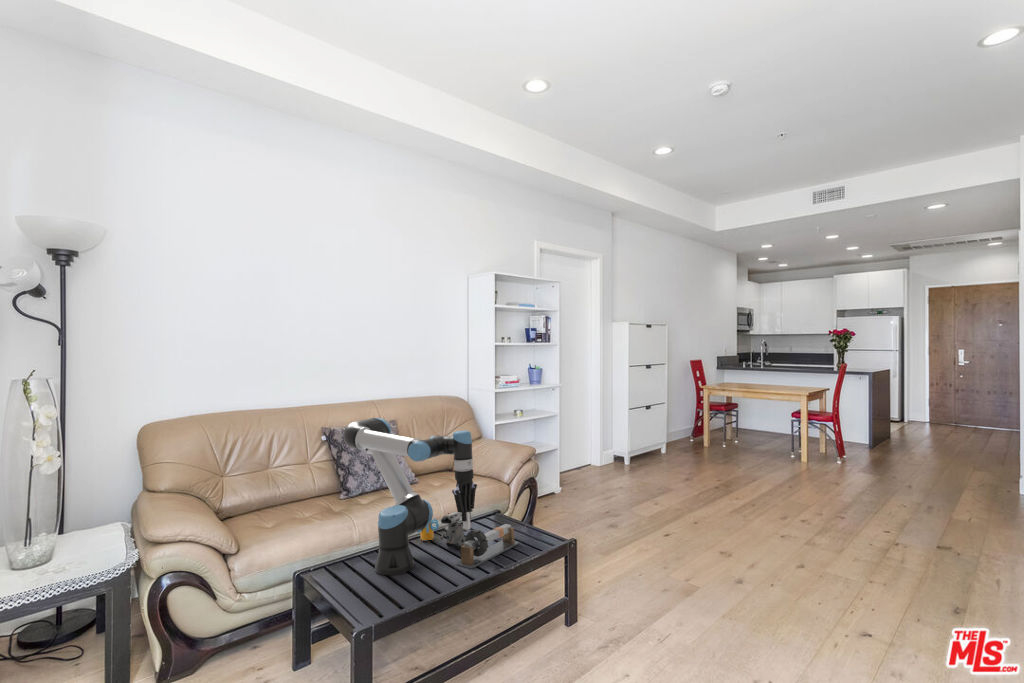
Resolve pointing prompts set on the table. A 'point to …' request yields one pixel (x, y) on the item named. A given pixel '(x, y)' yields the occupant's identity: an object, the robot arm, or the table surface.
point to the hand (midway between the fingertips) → (466, 528)
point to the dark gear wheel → (481, 539)
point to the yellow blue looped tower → (429, 531)
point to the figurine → (453, 529)
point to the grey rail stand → (492, 551)
